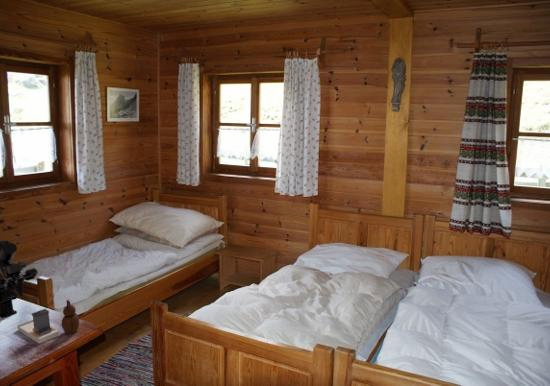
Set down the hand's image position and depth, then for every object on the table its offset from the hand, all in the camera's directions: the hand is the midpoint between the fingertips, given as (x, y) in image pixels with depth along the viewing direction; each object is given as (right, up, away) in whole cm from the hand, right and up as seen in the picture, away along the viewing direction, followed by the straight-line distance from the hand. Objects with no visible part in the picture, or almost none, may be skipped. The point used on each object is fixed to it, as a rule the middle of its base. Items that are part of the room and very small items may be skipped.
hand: (21, 296), depth 197 cm
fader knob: (+12, -13, -7) cm, 19 cm away
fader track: (+9, -14, -4) cm, 17 cm away
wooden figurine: (+22, -14, -3) cm, 27 cm away
